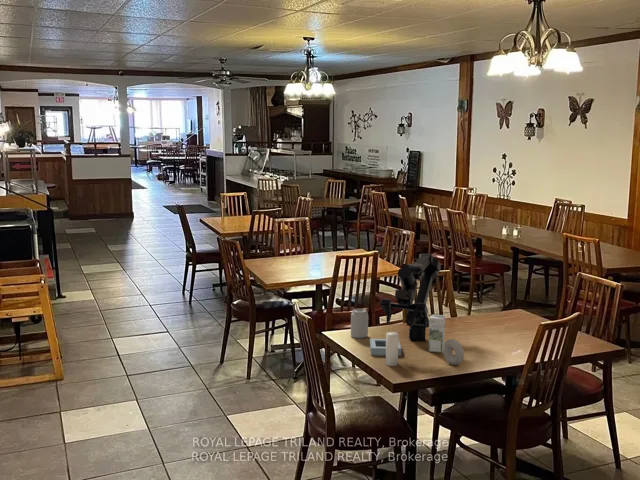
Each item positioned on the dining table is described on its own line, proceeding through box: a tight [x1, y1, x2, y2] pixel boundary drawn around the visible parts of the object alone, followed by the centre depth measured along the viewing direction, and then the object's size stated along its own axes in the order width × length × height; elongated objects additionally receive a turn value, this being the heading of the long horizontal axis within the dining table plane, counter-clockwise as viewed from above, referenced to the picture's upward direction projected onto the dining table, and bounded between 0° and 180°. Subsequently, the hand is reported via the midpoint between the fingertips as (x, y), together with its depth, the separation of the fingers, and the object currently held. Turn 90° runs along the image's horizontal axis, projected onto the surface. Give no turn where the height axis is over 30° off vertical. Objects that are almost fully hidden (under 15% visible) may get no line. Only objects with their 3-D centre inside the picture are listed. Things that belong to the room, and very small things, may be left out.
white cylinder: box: [385, 331, 400, 367], centre depth 244 cm, size 5×5×12 cm
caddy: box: [369, 338, 402, 357], centre depth 259 cm, size 12×12×3 cm
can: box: [350, 308, 369, 340], centre depth 277 cm, size 8×8×12 cm
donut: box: [442, 338, 465, 366], centre depth 243 cm, size 10×4×10 cm, turn 33°
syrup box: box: [428, 314, 446, 354], centre depth 259 cm, size 6×6×14 cm
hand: (398, 325), depth 249 cm, fingers open, 9 cm apart
